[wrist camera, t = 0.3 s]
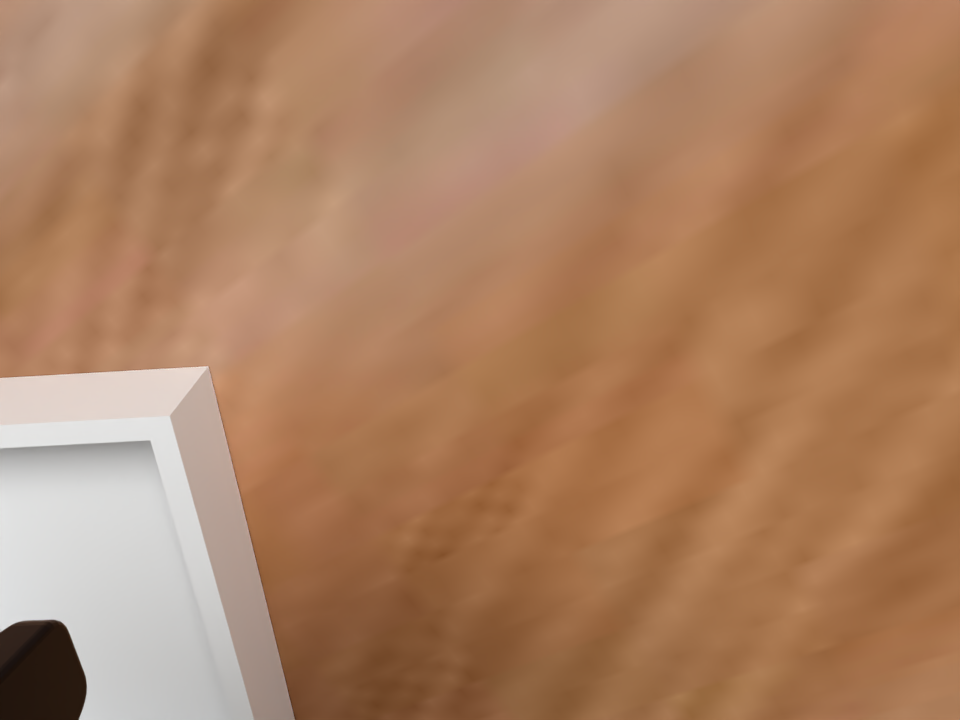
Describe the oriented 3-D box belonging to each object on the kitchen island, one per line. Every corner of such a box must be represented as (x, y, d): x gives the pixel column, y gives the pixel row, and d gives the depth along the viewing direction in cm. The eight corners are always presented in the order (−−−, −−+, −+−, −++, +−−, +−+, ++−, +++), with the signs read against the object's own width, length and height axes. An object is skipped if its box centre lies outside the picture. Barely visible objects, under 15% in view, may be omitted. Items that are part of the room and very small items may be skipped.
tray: (299, 736, 29) (279, 811, 26) (47, 746, 29) (2, 821, 27) (208, 366, 22) (169, 415, 19) (-118, 384, 22) (-200, 436, 20)
